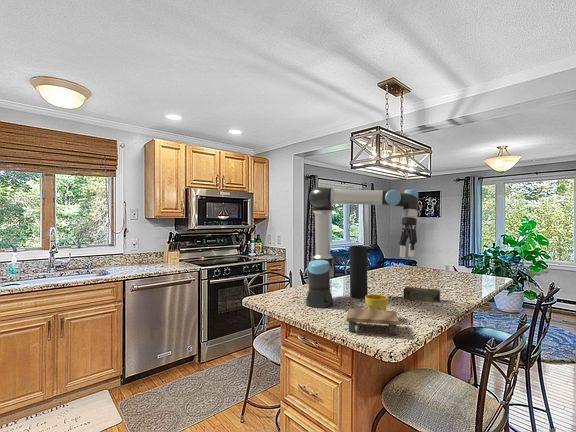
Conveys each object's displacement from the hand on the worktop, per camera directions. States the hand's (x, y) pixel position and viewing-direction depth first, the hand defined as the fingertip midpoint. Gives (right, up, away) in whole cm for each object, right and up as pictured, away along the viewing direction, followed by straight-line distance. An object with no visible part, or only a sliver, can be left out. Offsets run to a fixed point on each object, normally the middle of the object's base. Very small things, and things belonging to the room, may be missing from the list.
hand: (406, 257), depth 165 cm
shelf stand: (-28, -25, -36) cm, 52 cm away
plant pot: (-22, -26, -21) cm, 40 cm away
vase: (-21, -26, +20) cm, 39 cm away
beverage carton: (+13, -26, +11) cm, 31 cm away
